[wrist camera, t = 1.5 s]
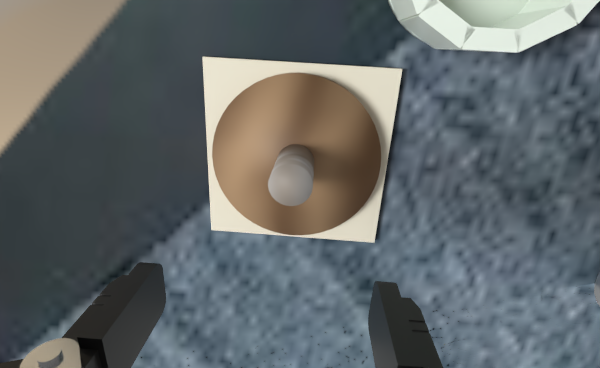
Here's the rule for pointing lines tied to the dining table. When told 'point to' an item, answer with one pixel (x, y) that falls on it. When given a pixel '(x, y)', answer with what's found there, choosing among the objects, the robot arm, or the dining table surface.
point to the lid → (296, 154)
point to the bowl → (488, 22)
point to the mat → (356, 79)
